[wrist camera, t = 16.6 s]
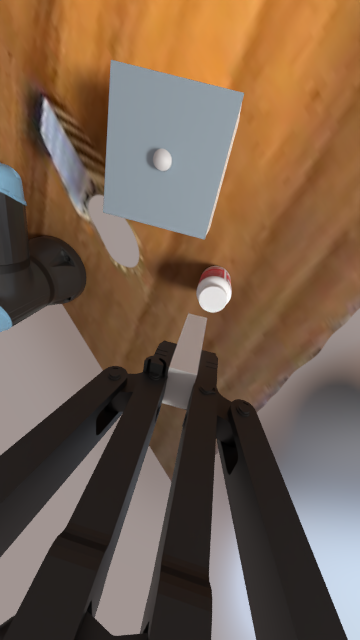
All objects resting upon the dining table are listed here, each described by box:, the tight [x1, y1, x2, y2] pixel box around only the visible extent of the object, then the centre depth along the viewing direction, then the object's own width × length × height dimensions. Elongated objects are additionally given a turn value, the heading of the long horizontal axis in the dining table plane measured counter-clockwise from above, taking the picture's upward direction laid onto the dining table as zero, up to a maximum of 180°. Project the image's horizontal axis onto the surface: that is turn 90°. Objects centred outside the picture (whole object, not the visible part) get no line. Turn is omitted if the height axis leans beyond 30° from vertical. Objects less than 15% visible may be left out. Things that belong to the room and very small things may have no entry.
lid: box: [103, 60, 244, 239], centre depth 31 cm, size 16×17×2 cm
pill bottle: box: [197, 266, 231, 312], centre depth 42 cm, size 6×6×11 cm
